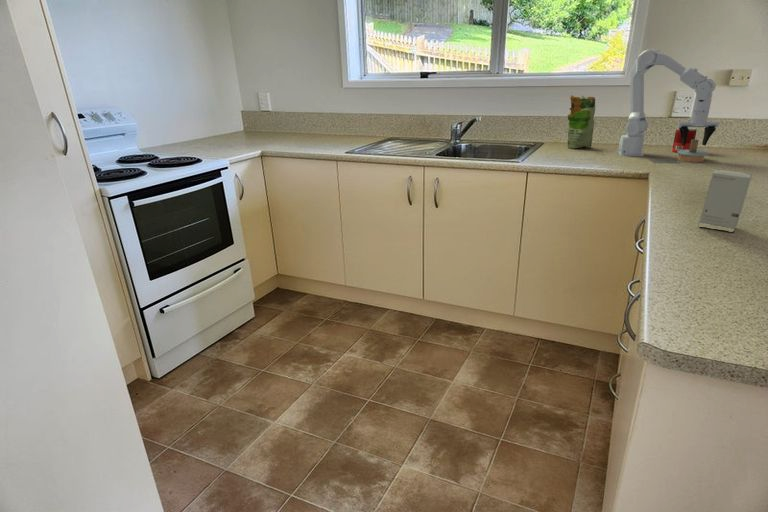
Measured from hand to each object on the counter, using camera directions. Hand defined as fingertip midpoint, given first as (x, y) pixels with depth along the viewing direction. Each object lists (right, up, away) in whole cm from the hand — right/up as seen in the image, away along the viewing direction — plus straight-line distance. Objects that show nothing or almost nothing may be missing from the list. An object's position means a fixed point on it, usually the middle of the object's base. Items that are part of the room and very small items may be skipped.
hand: (693, 145), depth 201 cm
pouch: (-33, +7, +39) cm, 51 cm away
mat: (-11, -6, +3) cm, 13 cm away
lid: (0, -3, +1) cm, 4 cm away
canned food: (+6, 0, +18) cm, 19 cm away
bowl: (0, -6, +2) cm, 7 cm away
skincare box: (-40, -39, -73) cm, 92 cm away
